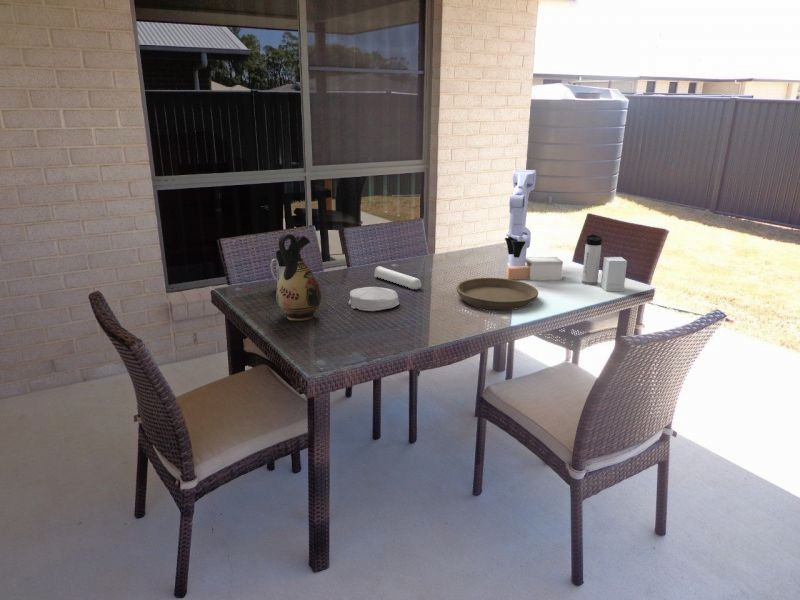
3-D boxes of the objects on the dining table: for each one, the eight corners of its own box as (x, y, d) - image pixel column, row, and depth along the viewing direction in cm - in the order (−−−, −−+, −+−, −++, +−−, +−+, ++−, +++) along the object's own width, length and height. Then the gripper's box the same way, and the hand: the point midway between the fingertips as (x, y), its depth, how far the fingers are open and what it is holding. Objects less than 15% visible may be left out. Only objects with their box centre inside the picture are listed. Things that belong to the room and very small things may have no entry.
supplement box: (624, 291, 243) (627, 261, 239) (605, 291, 243) (608, 260, 239) (618, 286, 250) (621, 256, 246) (600, 286, 250) (603, 256, 246)
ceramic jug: (301, 307, 222) (297, 226, 213) (331, 316, 213) (328, 232, 204) (264, 318, 210) (258, 233, 200) (294, 329, 200) (289, 240, 191)
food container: (341, 299, 233) (340, 282, 231) (390, 293, 239) (389, 276, 237) (356, 316, 215) (356, 298, 213) (408, 309, 222) (408, 291, 220)
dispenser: (522, 275, 266) (523, 257, 263) (555, 274, 267) (556, 257, 264) (527, 280, 258) (528, 262, 255) (561, 279, 259) (563, 261, 256)
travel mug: (595, 280, 258) (600, 234, 251) (598, 285, 251) (604, 237, 245) (580, 280, 258) (585, 234, 252) (583, 284, 252) (588, 237, 246)
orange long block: (505, 277, 263) (506, 266, 261) (542, 276, 264) (542, 265, 263) (508, 279, 259) (508, 268, 258) (544, 279, 260) (545, 268, 259)
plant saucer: (553, 300, 232) (554, 289, 231) (503, 318, 212) (504, 306, 211) (490, 283, 254) (490, 273, 252) (439, 298, 234) (439, 287, 232)
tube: (425, 279, 244) (384, 267, 262) (416, 277, 241) (375, 265, 258) (421, 292, 245) (381, 279, 262) (412, 290, 241) (372, 277, 259)
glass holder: (302, 286, 247) (300, 250, 243) (282, 295, 235) (279, 258, 230) (284, 283, 251) (282, 248, 246) (263, 292, 238) (261, 255, 234)
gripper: (501, 221, 261) (499, 252, 264) (512, 226, 247) (509, 258, 250) (517, 222, 262) (515, 253, 265) (528, 226, 248) (526, 258, 251)
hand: (513, 255), depth 258 cm, fingers open, 7 cm apart
